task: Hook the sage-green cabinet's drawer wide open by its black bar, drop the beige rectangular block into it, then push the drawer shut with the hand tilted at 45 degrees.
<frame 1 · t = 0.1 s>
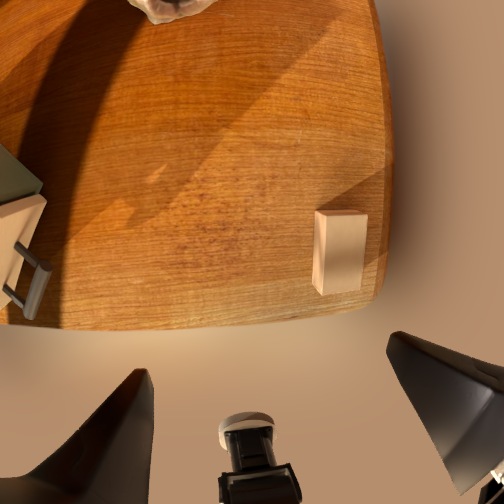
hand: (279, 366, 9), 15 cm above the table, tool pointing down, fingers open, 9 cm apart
beige rectangular block: (333, 246, 25), on the table
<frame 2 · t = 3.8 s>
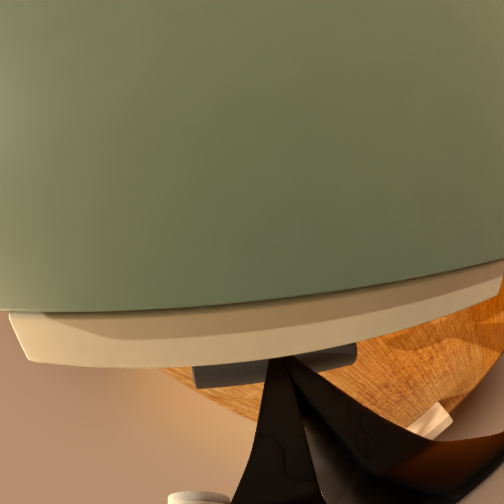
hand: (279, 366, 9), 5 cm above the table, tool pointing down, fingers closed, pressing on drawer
cabinet: (249, 36, 9), on the table
beige rectangular block: (417, 425, 22), on the table
drawer: (279, 112, 6), point 4 cm above the table, slide at 0.5 cm, touching gripper
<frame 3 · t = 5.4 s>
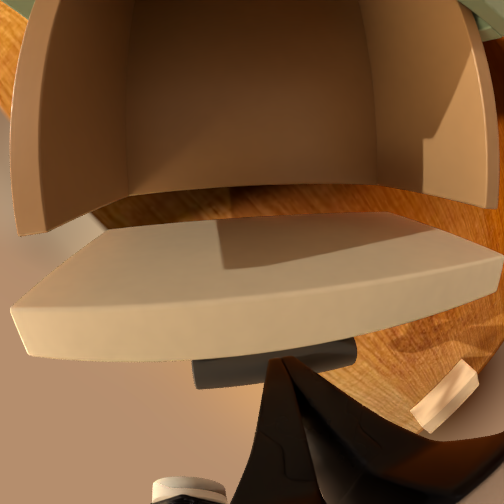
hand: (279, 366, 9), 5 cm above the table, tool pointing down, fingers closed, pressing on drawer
beige rectangular block: (440, 391, 20), on the table
drawer: (277, 114, 7), point 4 cm above the table, slide at 7.1 cm, touching gripper
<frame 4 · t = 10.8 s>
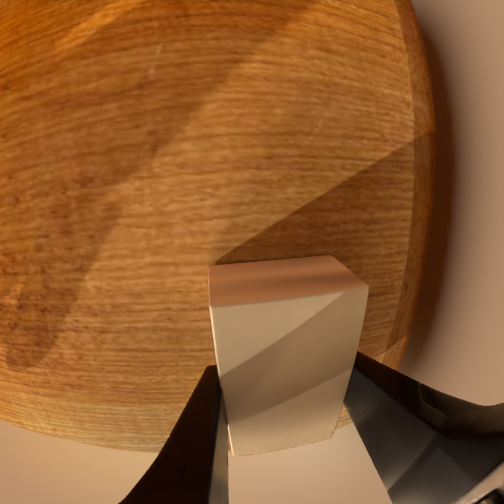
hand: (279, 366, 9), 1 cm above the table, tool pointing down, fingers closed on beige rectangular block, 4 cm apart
beige rectangular block: (272, 348, 10), on the table, touching gripper
when the fingers open (6 cm above the table, at t = 16.3 s): beige rectangular block drops 3 cm, resting on drawer.
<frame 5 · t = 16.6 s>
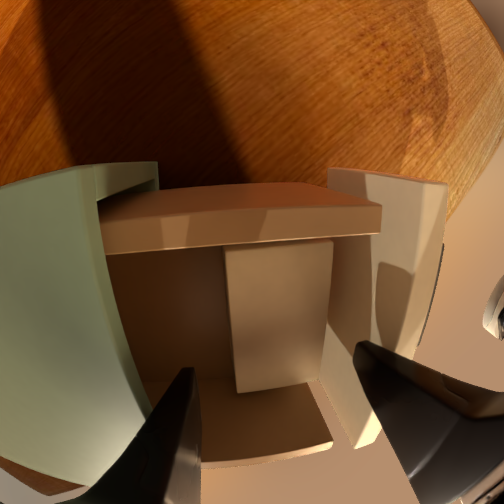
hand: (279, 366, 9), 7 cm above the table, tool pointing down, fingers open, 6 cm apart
cabinet: (59, 297, 13), on the table
beige rectangular block: (268, 300, 13), point 2 cm above the table, touching drawer
drawer: (275, 329, 11), point 4 cm above the table, slide at 8.0 cm, touching beige rectangular block, gripper
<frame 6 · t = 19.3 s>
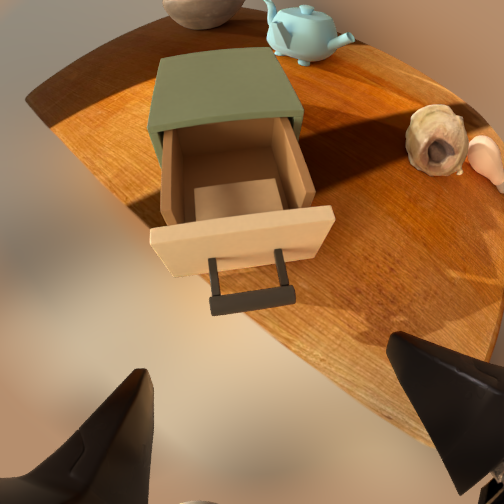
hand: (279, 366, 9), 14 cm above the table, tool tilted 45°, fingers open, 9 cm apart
cabinet: (223, 133, 32), on the table
beige rectangular block: (238, 217, 24), point 2 cm above the table, touching drawer
vase: (206, 26, 50), on the table
light bulb: (482, 175, 32), on the table
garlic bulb: (426, 163, 32), on the table
teapot: (298, 56, 42), on the table
drawer: (236, 201, 22), point 4 cm above the table, slide at 9.5 cm, touching beige rectangular block
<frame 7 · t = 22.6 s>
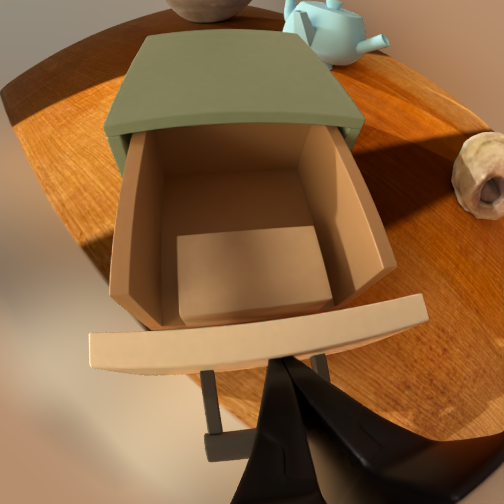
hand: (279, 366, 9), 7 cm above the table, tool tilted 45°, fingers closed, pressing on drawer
cabinet: (225, 144, 23), on the table
beige rectangular block: (248, 285, 15), point 2 cm above the table, touching drawer
vase: (209, 20, 42), on the table
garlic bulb: (471, 202, 24), on the table
teapot: (317, 59, 35), on the table
drawer: (250, 265, 13), point 4 cm above the table, slide at 9.3 cm, touching beige rectangular block, gripper
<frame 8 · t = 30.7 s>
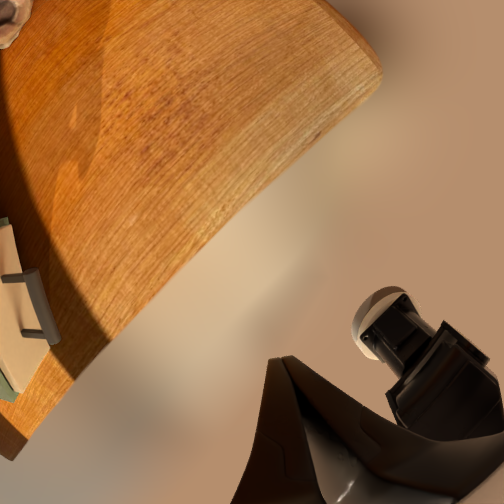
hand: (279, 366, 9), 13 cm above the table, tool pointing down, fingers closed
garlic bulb: (15, 20, 10), on the table
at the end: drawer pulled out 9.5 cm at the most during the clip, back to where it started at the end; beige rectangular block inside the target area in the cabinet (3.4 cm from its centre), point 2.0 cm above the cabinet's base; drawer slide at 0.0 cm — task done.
